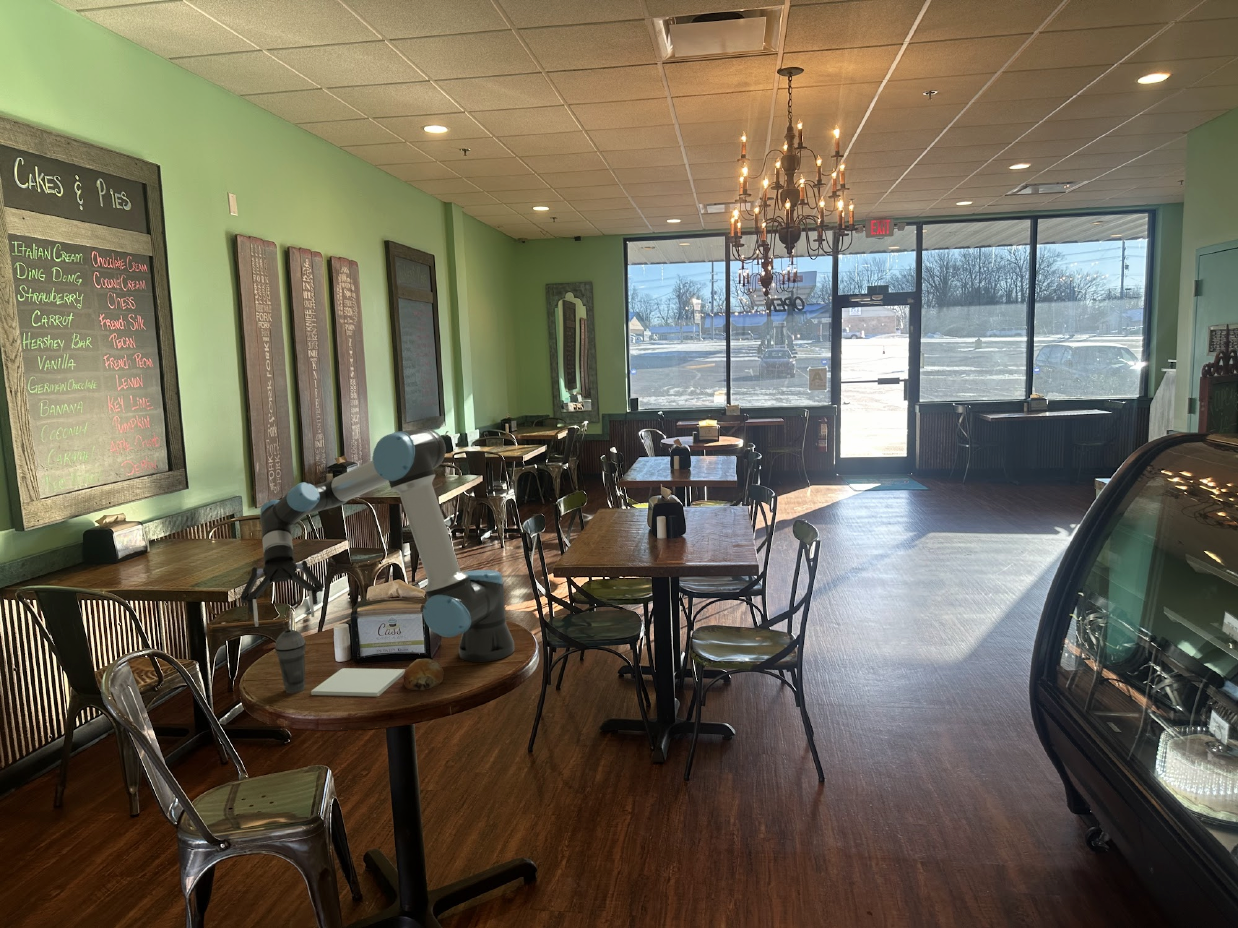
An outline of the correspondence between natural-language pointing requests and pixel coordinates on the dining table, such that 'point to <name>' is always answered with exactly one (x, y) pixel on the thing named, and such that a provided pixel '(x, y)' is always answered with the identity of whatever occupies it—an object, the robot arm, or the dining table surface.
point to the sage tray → (358, 682)
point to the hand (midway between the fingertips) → (284, 619)
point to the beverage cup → (291, 659)
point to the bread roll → (423, 674)
